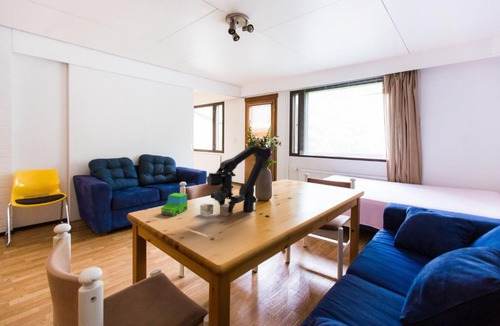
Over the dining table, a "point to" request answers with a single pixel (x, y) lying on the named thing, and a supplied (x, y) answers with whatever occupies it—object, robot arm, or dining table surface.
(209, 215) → the board
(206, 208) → the beech block
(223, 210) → the walnut block
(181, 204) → the toy car
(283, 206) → the dining table surface
